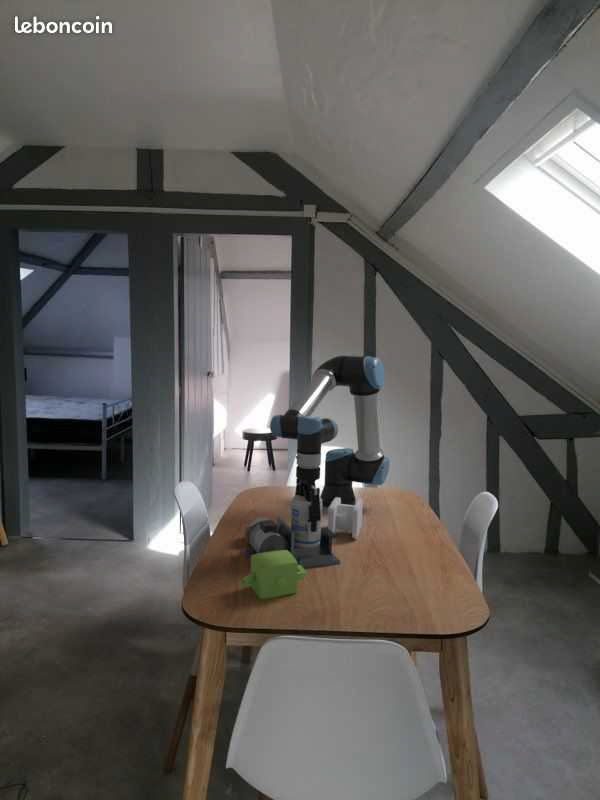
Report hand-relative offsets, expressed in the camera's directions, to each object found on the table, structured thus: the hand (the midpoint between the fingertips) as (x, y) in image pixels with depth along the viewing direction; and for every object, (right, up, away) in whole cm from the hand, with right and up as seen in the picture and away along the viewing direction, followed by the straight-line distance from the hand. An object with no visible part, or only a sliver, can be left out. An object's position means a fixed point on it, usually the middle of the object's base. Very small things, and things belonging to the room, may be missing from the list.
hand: (305, 535), depth 174 cm
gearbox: (-10, -9, -25) cm, 28 cm away
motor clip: (-4, -7, -1) cm, 8 cm away
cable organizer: (+14, -5, +22) cm, 27 cm away
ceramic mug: (-15, -5, +11) cm, 19 cm away
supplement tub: (0, -3, 0) cm, 3 cm away
